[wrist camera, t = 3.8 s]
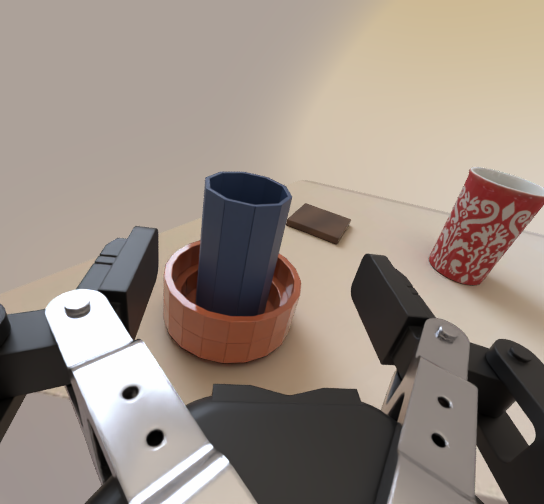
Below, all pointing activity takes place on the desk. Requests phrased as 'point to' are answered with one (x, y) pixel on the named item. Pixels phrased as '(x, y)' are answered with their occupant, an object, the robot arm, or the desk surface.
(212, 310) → the tumbler
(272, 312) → the bowl
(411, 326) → the robot arm
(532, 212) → the mug
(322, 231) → the coaster
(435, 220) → the desk surface
